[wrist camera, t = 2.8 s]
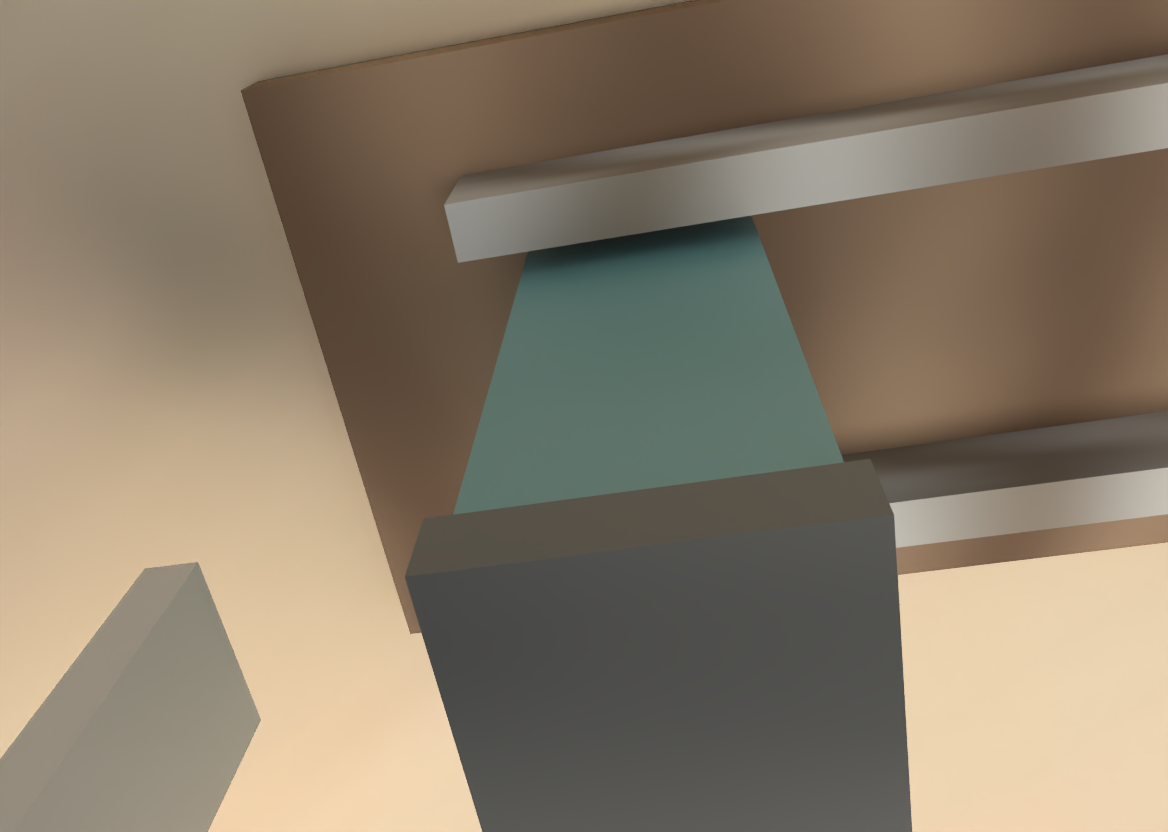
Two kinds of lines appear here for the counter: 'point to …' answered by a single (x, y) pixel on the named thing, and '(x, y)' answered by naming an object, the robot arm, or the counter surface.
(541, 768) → the carriage
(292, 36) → the counter surface
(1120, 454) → the rail track
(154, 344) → the counter surface
